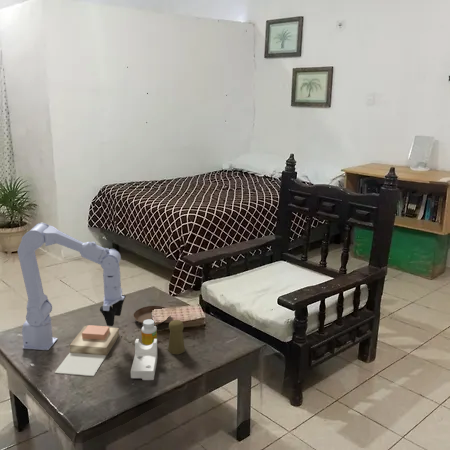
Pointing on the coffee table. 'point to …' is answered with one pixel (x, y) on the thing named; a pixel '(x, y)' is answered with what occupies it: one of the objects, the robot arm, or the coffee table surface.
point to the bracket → (144, 361)
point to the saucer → (144, 313)
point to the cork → (176, 337)
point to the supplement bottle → (148, 332)
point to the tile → (95, 332)
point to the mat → (80, 364)
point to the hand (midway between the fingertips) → (113, 320)
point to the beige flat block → (94, 343)
